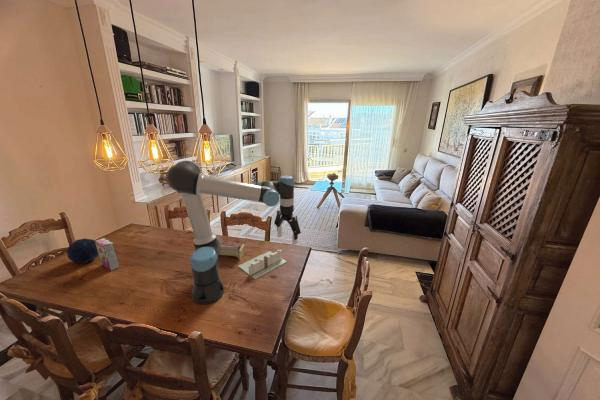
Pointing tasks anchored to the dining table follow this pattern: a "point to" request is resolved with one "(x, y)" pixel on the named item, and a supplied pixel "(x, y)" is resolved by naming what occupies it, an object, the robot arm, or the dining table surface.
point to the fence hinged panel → (274, 257)
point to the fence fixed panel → (258, 265)
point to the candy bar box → (107, 254)
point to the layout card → (256, 275)
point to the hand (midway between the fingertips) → (286, 240)
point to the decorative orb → (82, 251)
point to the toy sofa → (232, 250)
